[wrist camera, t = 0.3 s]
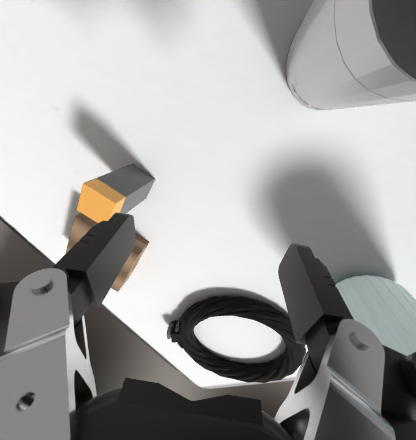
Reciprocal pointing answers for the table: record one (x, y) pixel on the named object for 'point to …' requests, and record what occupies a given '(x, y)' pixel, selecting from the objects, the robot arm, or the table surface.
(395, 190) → the table surface
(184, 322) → the cable lock
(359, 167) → the table surface
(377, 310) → the vase
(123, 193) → the connector plug
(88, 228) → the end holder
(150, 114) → the table surface
